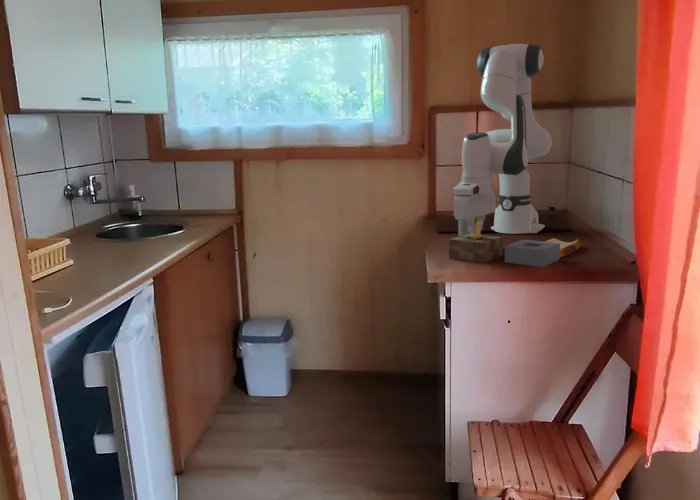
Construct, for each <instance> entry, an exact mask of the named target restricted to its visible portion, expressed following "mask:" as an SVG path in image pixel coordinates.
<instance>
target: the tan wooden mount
mask: <svg viewBox="0 0 700 500" xmlns="http://www.w3.org/2000/svg"><path fill="white" fill-rule="evenodd" d="M502 246H503V237H502V236H496V235H487V234H486V235H485V234H481V238H480V240H472V239H471V234H465V235H462V236H459V235H458V236H454V237H453V238H450V239H448V259H453V260H461V261H469V262H476V263H487V262H489V261H491V260H494V259H497V258H499V257H502V255H503V254H502V253H503V250H502V249H503V247H502Z"/></svg>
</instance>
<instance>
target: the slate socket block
mask: <svg viewBox="0 0 700 500" xmlns="http://www.w3.org/2000/svg"><path fill="white" fill-rule="evenodd" d="M560 259H561V257H560V243H552V242H544V241H543V240H542V241H541V240H532V239H520V240H518V241H515V242H511V243H509V244H506V245H504V263H508V264H516V265H522V266H523V265H524V266H529V267H530V266H532V267H540V268H544V267H547V266H549V265H551V264H553V263H555V262H557V261H559V260H560Z"/></svg>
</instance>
